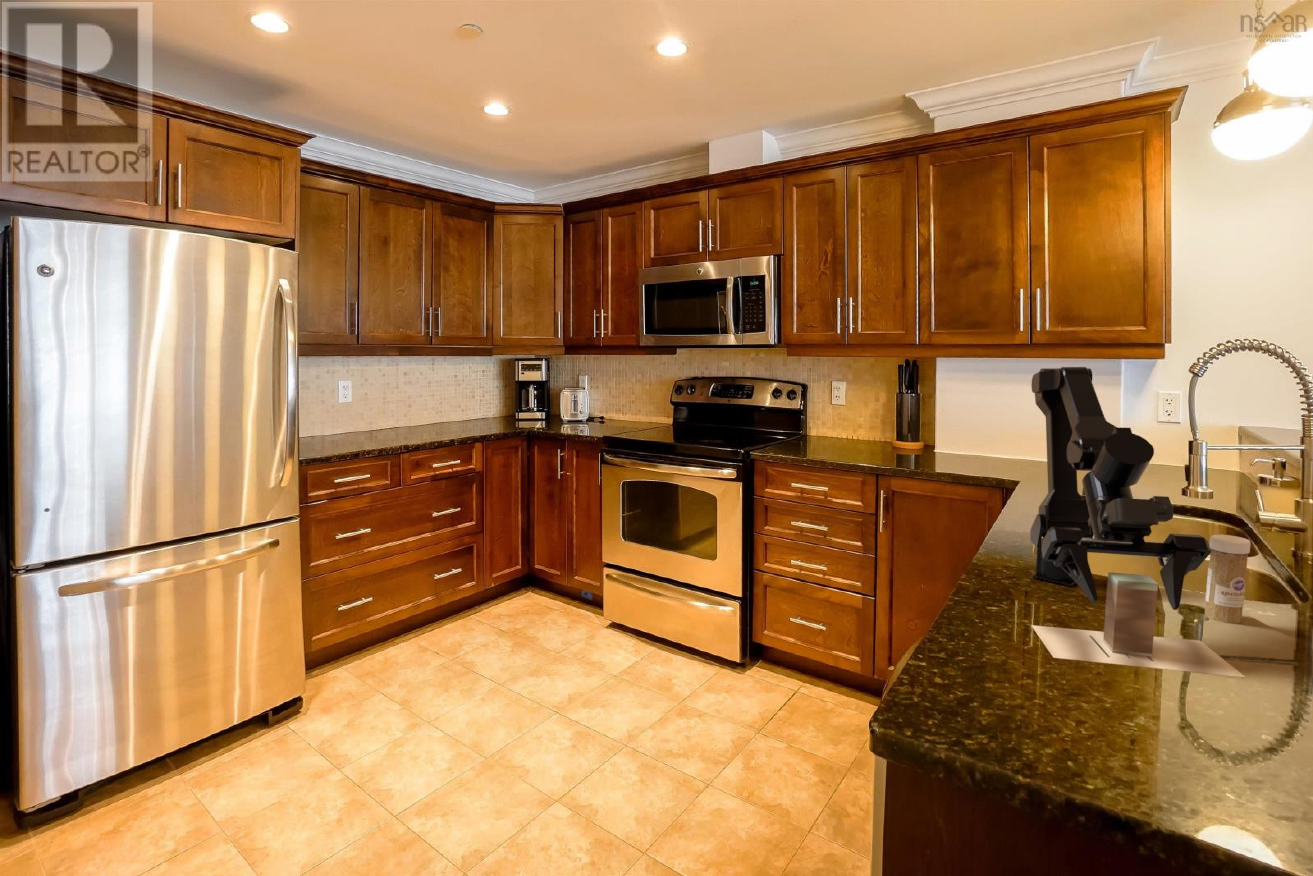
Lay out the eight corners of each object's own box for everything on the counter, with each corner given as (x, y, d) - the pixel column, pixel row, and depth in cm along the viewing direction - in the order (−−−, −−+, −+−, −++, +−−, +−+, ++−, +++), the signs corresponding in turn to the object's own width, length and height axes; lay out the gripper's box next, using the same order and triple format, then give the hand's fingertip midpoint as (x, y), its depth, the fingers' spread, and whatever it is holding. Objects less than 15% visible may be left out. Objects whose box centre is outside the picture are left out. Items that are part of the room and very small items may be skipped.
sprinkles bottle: (1228, 631, 97) (1237, 542, 95) (1195, 620, 101) (1202, 535, 99) (1249, 627, 98) (1258, 540, 96) (1216, 616, 102) (1224, 532, 101)
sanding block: (1112, 652, 88) (1117, 580, 87) (1103, 641, 91) (1108, 572, 90) (1151, 656, 87) (1157, 583, 85) (1141, 645, 90) (1146, 575, 89)
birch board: (1053, 664, 87) (1053, 657, 87) (1031, 631, 97) (1031, 625, 97) (1244, 685, 81) (1245, 677, 81) (1199, 647, 92) (1200, 640, 91)
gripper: (1051, 470, 93) (1070, 570, 83) (1210, 476, 87) (1249, 584, 78) (1034, 513, 101) (1049, 608, 92) (1178, 520, 96) (1209, 622, 86)
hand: (1134, 605), depth 87 cm, fingers open, 9 cm apart
